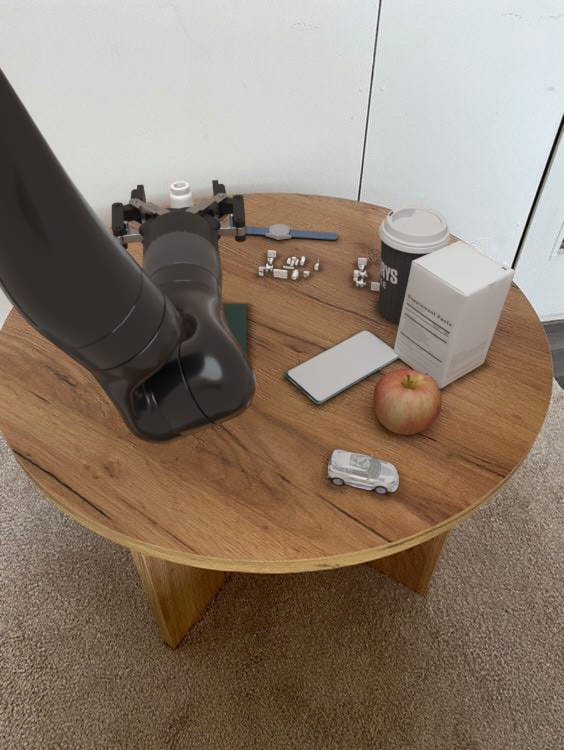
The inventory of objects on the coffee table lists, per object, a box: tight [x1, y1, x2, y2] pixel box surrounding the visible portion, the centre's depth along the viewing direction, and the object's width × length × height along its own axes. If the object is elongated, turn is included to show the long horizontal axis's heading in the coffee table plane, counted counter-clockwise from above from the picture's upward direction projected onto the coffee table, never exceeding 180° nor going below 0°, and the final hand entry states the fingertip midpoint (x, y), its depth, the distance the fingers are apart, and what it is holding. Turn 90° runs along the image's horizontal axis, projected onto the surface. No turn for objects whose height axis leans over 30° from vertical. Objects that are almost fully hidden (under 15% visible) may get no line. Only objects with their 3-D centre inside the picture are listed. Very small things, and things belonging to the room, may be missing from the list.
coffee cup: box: [377, 205, 451, 325], centre depth 82 cm, size 10×10×15 cm
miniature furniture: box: [258, 249, 380, 292], centre depth 93 cm, size 7×25×2 cm, turn 77°
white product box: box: [393, 240, 516, 389], centre depth 74 cm, size 9×9×15 cm
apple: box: [373, 368, 443, 436], centre depth 68 cm, size 8×8×8 cm
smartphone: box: [285, 329, 400, 405], centre depth 78 cm, size 7×1×15 cm
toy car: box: [326, 449, 400, 495], centre depth 64 cm, size 4×8×3 cm, turn 76°
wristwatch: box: [246, 223, 339, 241], centre depth 102 cm, size 4×20×1 cm, turn 83°
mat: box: [223, 303, 248, 356], centre depth 83 cm, size 14×12×1 cm
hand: (178, 189), depth 68 cm, fingers open, 8 cm apart
